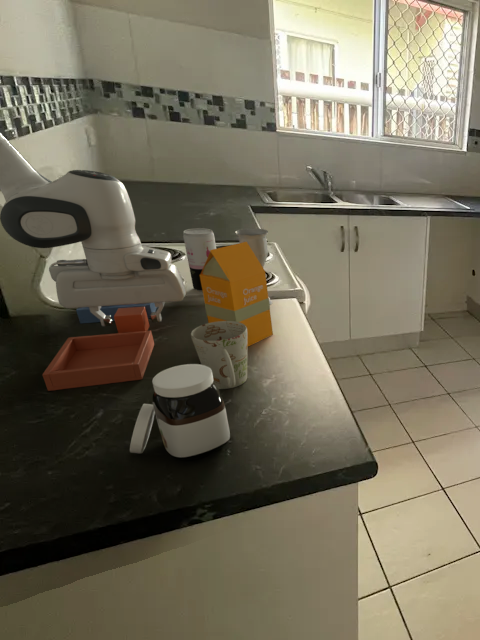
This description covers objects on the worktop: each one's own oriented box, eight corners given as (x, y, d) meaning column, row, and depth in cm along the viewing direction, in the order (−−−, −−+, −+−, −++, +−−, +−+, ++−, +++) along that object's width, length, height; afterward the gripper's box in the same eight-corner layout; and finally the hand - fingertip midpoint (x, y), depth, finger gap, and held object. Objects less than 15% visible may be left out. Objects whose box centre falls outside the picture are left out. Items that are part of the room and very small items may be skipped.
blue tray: (80, 323, 100) (75, 310, 98) (96, 299, 111) (93, 287, 110) (153, 318, 105) (149, 305, 104) (161, 295, 117) (159, 283, 116)
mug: (247, 365, 91) (240, 317, 86) (266, 395, 82) (259, 344, 78) (197, 376, 86) (186, 326, 81) (211, 409, 77) (200, 355, 73)
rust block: (119, 336, 96) (113, 316, 94) (123, 328, 100) (118, 308, 98) (146, 334, 98) (141, 314, 96) (149, 325, 102) (144, 306, 100)
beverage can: (219, 282, 128) (210, 227, 122) (225, 290, 124) (216, 233, 118) (191, 286, 124) (180, 229, 118) (196, 293, 120) (184, 235, 114)
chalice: (247, 298, 120) (237, 227, 113) (277, 297, 122) (269, 228, 115) (244, 309, 114) (233, 235, 106) (275, 308, 116) (266, 235, 109)
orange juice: (211, 341, 98) (193, 246, 89) (245, 327, 105) (232, 238, 97) (241, 350, 96) (226, 254, 87) (274, 334, 103) (262, 244, 95)
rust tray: (48, 391, 77) (42, 374, 76) (73, 352, 89) (68, 337, 88) (142, 379, 83) (138, 363, 82) (154, 344, 95) (151, 330, 93)
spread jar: (240, 450, 69) (228, 381, 64) (147, 487, 61) (125, 411, 56) (209, 414, 76) (196, 349, 71) (122, 443, 68) (100, 372, 63)
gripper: (40, 265, 85) (63, 334, 91) (175, 260, 94) (189, 324, 100) (51, 255, 90) (72, 322, 96) (179, 252, 99) (191, 313, 105)
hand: (132, 323), depth 98 cm, fingers open, 7 cm apart
